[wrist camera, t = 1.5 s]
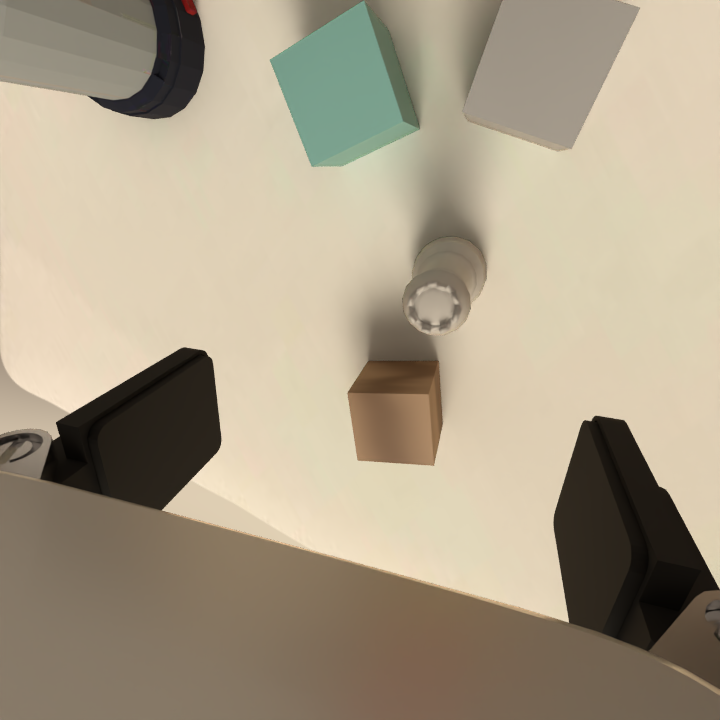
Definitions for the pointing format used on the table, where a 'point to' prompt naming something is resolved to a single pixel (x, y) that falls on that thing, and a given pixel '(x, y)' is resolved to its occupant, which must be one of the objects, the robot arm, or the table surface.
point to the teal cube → (346, 89)
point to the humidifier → (106, 51)
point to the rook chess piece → (444, 285)
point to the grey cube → (546, 67)
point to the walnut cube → (397, 412)
